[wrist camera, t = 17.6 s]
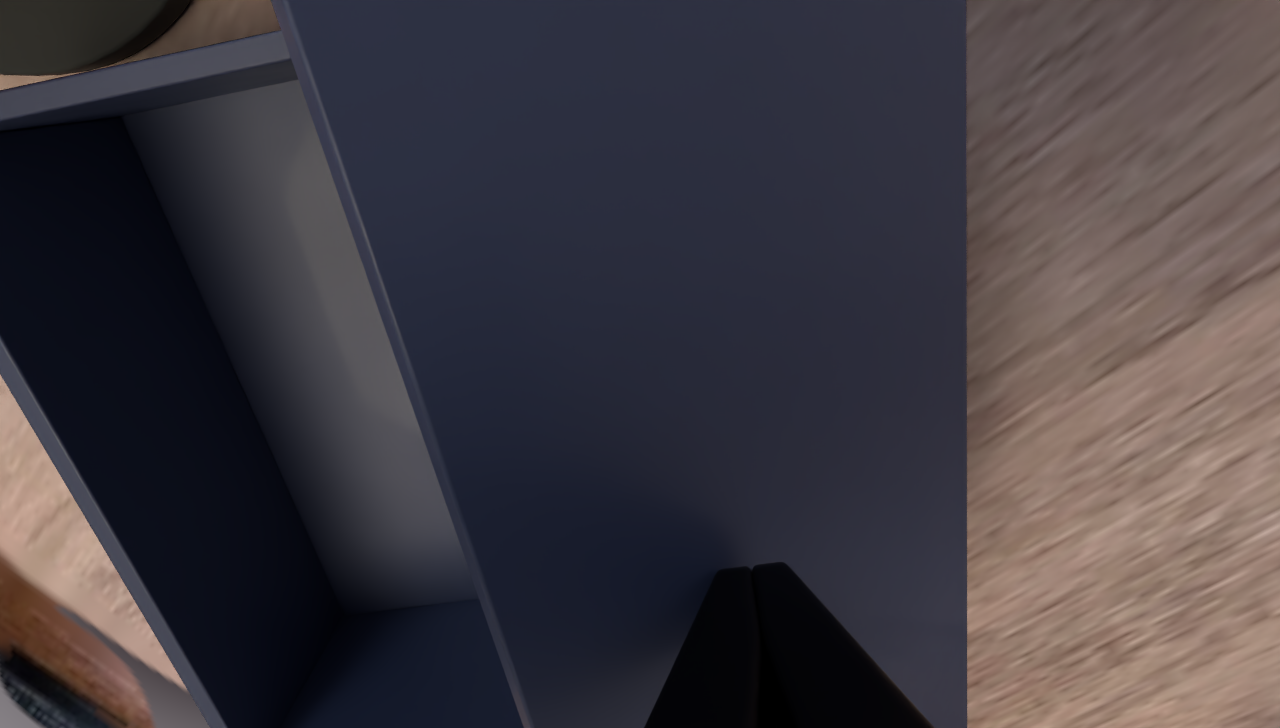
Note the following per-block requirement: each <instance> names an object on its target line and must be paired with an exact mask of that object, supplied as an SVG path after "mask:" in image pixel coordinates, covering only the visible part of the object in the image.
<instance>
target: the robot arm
mask: <svg viewBox="0 0 1280 728" xmlns="http://www.w3.org/2000/svg"><path fill="white" fill-rule="evenodd" d="M644 728H935V727H934V726H933V725H932V724H931V723H930V722H929V721H928V720H927V719H926V717H925V716H924V715H923V714H922V713H921V712H920V711H919V710H918V709H917V707H916V706H915V705H914V704H913V703H912V702H911V701H910V700H909V699H908V697H907V696H906V695H905V694H904V693H903V692H902V691H901V690H900V689H899V687H898V686H897V685H896V684H895V683H894V682H893V681H892V680H891V679H890V678H889V676H888V675H887V674H886V673H885V672H884V671H883V670H882V669H881V668H880V666H879V665H878V664H877V663H876V662H875V661H874V660H873V659H872V658H871V656H870V655H869V654H868V653H867V652H866V651H865V650H864V649H863V648H862V646H861V645H860V644H859V643H858V642H857V641H856V640H855V639H854V638H853V636H852V635H851V634H850V633H849V632H848V631H847V630H846V629H845V628H844V626H843V625H842V624H841V623H840V622H839V621H838V620H837V619H836V618H835V616H834V615H833V614H832V613H831V612H830V611H829V610H828V609H827V608H826V606H825V605H824V604H823V603H822V602H821V601H820V600H819V599H818V598H817V596H816V595H815V594H814V593H813V592H812V591H811V590H810V589H809V588H808V586H807V585H806V584H805V583H804V582H803V581H802V580H801V579H800V578H799V576H798V575H797V574H796V573H795V572H794V571H793V570H792V569H791V568H790V567H789V566H788V565H787V564H786V563H784V562H775V563H767V564H759V565H755V566H754V567H753V569H752V570H751V569H750V568H749V567H747V566H742V567H734V568H726V569H721V570H719V571H717V573H716V574H715V576H714V578H713V580H712V583H711V585H710V587H709V589H708V591H707V593H706V596H705V598H704V600H703V602H702V604H701V606H700V608H699V611H698V613H697V615H696V617H695V619H694V621H693V623H692V626H691V628H690V630H689V632H688V634H687V636H686V639H685V641H684V643H683V645H682V647H681V649H680V651H679V654H678V656H677V658H676V660H675V662H674V664H673V666H672V669H671V671H670V673H669V675H668V677H667V679H666V682H665V684H664V686H663V688H662V690H661V692H660V694H659V697H658V699H657V701H656V703H655V705H654V707H653V710H652V712H651V714H650V716H649V718H648V720H647V722H646V725H645V727H644Z"/></svg>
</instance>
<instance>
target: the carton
mask: <svg viewBox="0 0 1280 728" xmlns="http://www.w3.org/2000/svg"><path fill="white" fill-rule="evenodd" d="M0 374H1V376H2V378H3V379H4V381H5V383H6V384H7V386H8V388H9V390H10V391H11V393H12V395H13V396H14V398H15V400H16V401H17V403H18V405H19V406H20V408H21V410H22V411H23V413H24V415H25V417H26V418H27V420H28V422H29V423H30V425H31V427H32V428H33V430H34V432H35V433H36V435H37V437H38V438H39V440H40V442H41V443H42V445H43V447H44V449H45V450H46V452H47V454H48V455H49V457H50V459H51V460H52V462H53V464H54V465H55V467H56V469H57V470H58V472H59V474H60V475H61V477H62V479H63V481H64V482H65V484H66V486H67V487H68V489H69V491H70V492H71V494H72V496H73V497H74V499H75V501H76V502H77V504H78V506H79V508H80V509H81V511H82V513H83V514H84V516H85V518H86V519H87V521H88V523H89V524H90V526H91V528H92V529H93V531H94V533H95V534H96V536H97V538H98V540H99V541H100V543H101V545H102V546H103V548H104V550H105V551H106V553H107V555H108V556H109V558H110V560H111V561H112V563H113V565H114V566H115V568H116V570H117V572H118V573H119V575H120V577H121V578H122V580H123V582H124V583H125V585H126V587H127V588H128V590H129V592H130V593H131V595H132V597H133V599H134V600H135V602H136V604H137V605H138V607H139V609H140V610H141V612H142V614H143V615H144V617H145V619H146V620H147V622H148V624H149V625H150V627H151V629H152V631H153V632H154V634H155V636H156V637H157V639H158V641H159V642H160V644H161V646H162V647H163V649H164V651H165V652H166V654H167V656H168V657H169V659H170V661H171V663H172V664H173V666H174V668H175V669H176V671H177V673H178V674H179V676H180V678H181V679H182V681H183V683H184V684H185V686H186V688H187V690H188V691H189V693H190V695H191V696H192V698H193V700H194V701H195V703H196V705H197V706H198V708H199V710H200V711H201V713H202V715H203V716H204V718H205V720H206V722H207V723H208V725H209V727H210V728H524V727H523V724H522V721H521V718H520V715H519V712H518V709H517V706H516V704H515V701H514V698H513V695H512V692H511V689H510V686H509V683H508V681H507V678H506V675H505V672H504V669H503V666H502V663H501V660H500V658H499V655H498V652H497V649H496V646H495V643H494V640H493V637H492V635H491V632H490V629H489V626H488V623H487V620H486V617H485V614H484V612H483V609H482V606H481V603H480V600H479V597H478V594H477V591H476V589H475V586H474V583H473V580H472V577H471V574H470V571H469V568H468V566H467V563H466V560H465V557H464V554H463V551H462V548H461V545H460V543H459V540H458V537H457V534H456V531H455V528H454V525H453V522H452V520H451V517H450V514H449V511H448V508H447V505H446V502H445V499H444V497H443V494H442V491H441V488H440V485H439V482H438V479H437V476H436V474H435V471H434V468H433V465H432V462H431V459H430V456H429V453H428V451H427V448H426V445H425V442H424V439H423V436H422V433H421V430H420V428H419V425H418V422H417V419H416V416H415V413H414V410H413V407H412V405H411V402H410V399H409V396H408V393H407V390H406V387H405V384H404V382H403V379H402V376H401V373H400V370H399V367H398V364H397V361H396V359H395V356H394V353H393V350H392V347H391V344H390V341H389V338H388V336H387V333H386V330H385V327H384V324H383V321H382V318H381V315H380V313H379V310H378V307H377V304H376V301H375V298H374V295H373V292H372V290H371V287H370V284H369V281H368V278H367V275H366V272H365V269H364V267H363V264H362V261H361V258H360V255H359V252H358V249H357V246H356V244H355V241H354V238H353V235H352V232H351V229H350V226H349V223H348V221H347V218H346V215H345V212H344V209H343V206H342V203H341V200H340V198H339V195H338V192H337V189H336V186H335V183H334V180H333V177H332V175H331V172H330V169H329V166H328V163H327V160H326V157H325V154H324V152H323V149H322V146H321V143H320V140H319V137H318V134H317V131H316V129H315V126H314V123H313V120H312V117H311V114H310V111H309V109H308V106H307V103H306V100H305V97H304V94H303V91H302V88H301V86H300V83H299V80H298V77H297V74H296V71H295V68H294V65H293V63H292V60H291V57H290V54H289V51H288V48H287V45H286V42H285V40H284V37H283V34H282V31H281V30H278V31H274V32H269V33H265V34H260V35H255V36H251V37H246V38H241V39H237V40H232V41H227V42H223V43H218V44H213V45H209V46H204V47H200V48H195V49H190V50H186V51H181V52H176V53H172V54H167V55H162V56H158V57H153V58H149V59H144V60H139V61H135V62H130V63H125V64H121V65H116V66H111V67H107V68H102V69H97V70H93V71H88V72H84V73H79V74H74V75H70V76H65V77H60V78H56V79H51V80H46V81H42V82H37V83H32V84H28V85H23V86H19V87H14V88H9V89H5V90H0Z"/></svg>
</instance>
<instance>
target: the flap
mask: <svg viewBox="0 0 1280 728" xmlns="http://www.w3.org/2000/svg"><path fill="white" fill-rule="evenodd" d="M271 2H272V5H273V8H274V11H275V14H276V17H277V19H278V22H279V25H280V28H281V31H282V34H283V37H284V40H285V42H286V45H287V48H288V51H289V54H290V57H291V60H292V63H293V65H294V68H295V71H296V74H297V77H298V80H299V83H300V86H301V88H302V91H303V94H304V97H305V100H306V103H307V106H308V109H309V111H310V114H311V117H312V120H313V123H314V126H315V129H316V131H317V134H318V137H319V140H320V143H321V146H322V149H323V152H324V154H325V157H326V160H327V163H328V166H329V169H330V172H331V175H332V177H333V180H334V183H335V186H336V189H337V192H338V195H339V198H340V200H341V203H342V206H343V209H344V212H345V215H346V218H347V221H348V223H349V226H350V229H351V232H352V235H353V238H354V241H355V244H356V246H357V249H358V252H359V255H360V258H361V261H362V264H363V267H364V269H365V272H366V275H367V278H368V281H369V284H370V287H371V290H372V292H373V295H374V298H375V301H376V304H377V307H378V310H379V313H380V315H381V318H382V321H383V324H384V327H385V330H386V333H387V336H388V338H389V341H390V344H391V347H392V350H393V353H394V356H395V359H396V361H397V364H398V367H399V370H400V373H401V376H402V379H403V382H404V384H405V387H406V390H407V393H408V396H409V399H410V402H411V405H412V407H413V410H414V413H415V416H416V419H417V422H418V425H419V428H420V430H421V433H422V436H423V439H424V442H425V445H426V448H427V451H428V453H429V456H430V459H431V462H432V465H433V468H434V471H435V474H436V476H437V479H438V482H439V485H440V488H441V491H442V494H443V497H444V499H445V502H446V505H447V508H448V511H449V514H450V517H451V520H452V522H453V525H454V528H455V531H456V534H457V537H458V540H459V543H460V545H461V548H462V551H463V554H464V557H465V560H466V563H467V566H468V568H469V571H470V574H471V577H472V580H473V583H474V586H475V589H476V591H477V594H478V597H479V600H480V603H481V606H482V609H483V612H484V614H485V617H486V620H487V623H488V626H489V629H490V632H491V635H492V637H493V640H494V643H495V646H496V649H497V652H498V655H499V658H500V660H501V663H502V666H503V669H504V672H505V675H506V678H507V681H508V683H509V686H510V689H511V692H512V695H513V698H514V701H515V704H516V706H517V709H518V712H519V715H520V718H521V721H522V724H523V727H524V728H644V727H645V725H646V722H647V720H648V718H649V716H650V714H651V712H652V710H653V707H654V705H655V703H656V701H657V699H658V697H659V694H660V692H661V690H662V688H663V686H664V684H665V682H666V679H667V677H668V675H669V673H670V671H671V669H672V666H673V664H674V662H675V660H676V658H677V656H678V654H679V651H680V649H681V647H682V645H683V643H684V641H685V639H686V636H687V634H688V632H689V630H690V628H691V626H692V623H693V621H694V619H695V617H696V615H697V613H698V611H699V608H700V606H701V604H702V602H703V600H704V598H705V596H706V593H707V591H708V589H709V587H710V585H711V583H712V580H713V578H714V576H715V574H716V573H717V571H719V570H721V569H726V568H734V567H742V566H747V567H749V568H750V569H751V570H752V569H753V567H754V566H755V565H759V564H767V563H775V562H784V563H786V564H787V565H788V566H789V567H790V568H791V569H792V570H793V571H794V572H795V573H796V574H797V575H798V576H799V578H800V579H801V580H802V581H803V582H804V583H805V584H806V585H807V586H808V588H809V589H810V590H811V591H812V592H813V593H814V594H815V595H816V596H817V598H818V599H819V600H820V601H821V602H822V603H823V604H824V605H825V606H826V608H827V609H828V610H829V611H830V612H831V613H832V614H833V615H834V616H835V618H836V619H837V620H838V621H839V622H840V623H841V624H842V625H843V626H844V628H845V629H846V630H847V631H848V632H849V633H850V634H851V635H852V636H853V638H854V639H855V640H856V641H857V642H858V643H859V644H860V645H861V646H862V648H863V649H864V650H865V651H866V652H867V653H868V654H869V655H870V656H871V658H872V659H873V660H874V661H875V662H876V663H877V664H878V665H879V666H880V668H881V669H882V670H883V671H884V672H885V673H886V674H887V675H888V676H889V678H890V679H891V680H892V681H893V682H894V683H895V684H896V685H897V686H898V687H899V689H900V690H901V691H902V692H903V693H904V694H905V695H906V696H907V697H908V699H909V700H910V701H911V702H912V703H913V704H914V705H915V706H916V707H917V709H918V710H919V711H920V712H921V713H922V714H923V715H924V716H925V717H926V719H927V720H928V721H929V722H930V723H931V724H932V725H933V726H934V727H935V728H967V165H966V0H271Z"/></svg>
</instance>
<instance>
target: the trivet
mask: <svg viewBox="0 0 1280 728" xmlns="http://www.w3.org/2000/svg"><path fill="white" fill-rule="evenodd" d="M189 2H190V0H0V74H2V75H26V76H41V75H62V74H69V73H77V72H84V71H90V70H93V69H96V68H100V67H103V66H106V65H110V64H113V63H116V62H118V61H120V60H122V59H124V58H126V57H128V56H130V55H132V54H134V53H136V52H138V51H140V50H141V49H142V48H144V47H145V46H146V45H148V44H149V43H150V42H152V41H153V40H154V39H156V38H157V37H159V36H160V35H161V34H162V33H163V32H164V31H165V30H166V29H167V28H168V27H169V26H170V25H171V24H172V23H173V22H174V21H175V20H176V19H177V18H178V16H179V15H180V14H181V13H182V12H183V11H184V9H185V8H186V6H187V5H188V3H189Z"/></svg>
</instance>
